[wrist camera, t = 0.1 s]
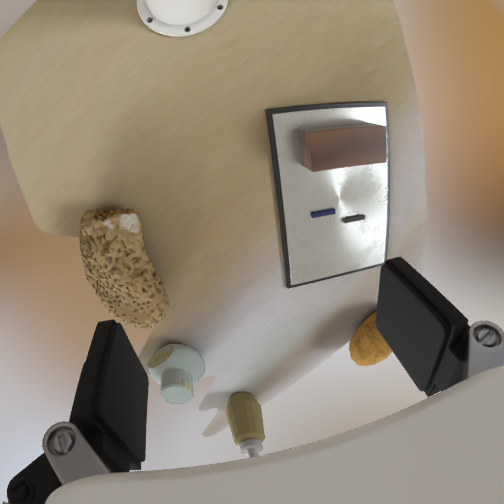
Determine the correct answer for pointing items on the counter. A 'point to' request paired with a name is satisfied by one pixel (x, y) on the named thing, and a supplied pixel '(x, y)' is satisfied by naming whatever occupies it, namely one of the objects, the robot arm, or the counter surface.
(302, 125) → the whiteboard
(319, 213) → the stroke navy
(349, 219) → the bar
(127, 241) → the sponge
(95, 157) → the counter surface
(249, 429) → the squeeze bottle
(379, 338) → the potato
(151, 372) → the air freshener
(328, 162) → the eraser
